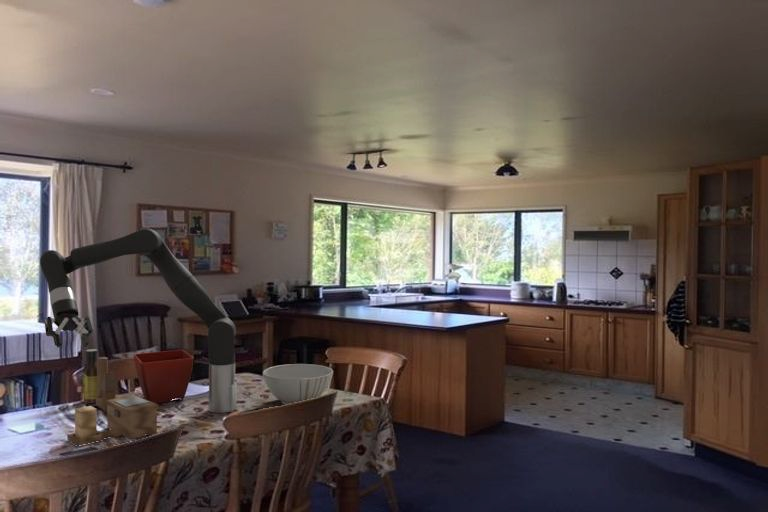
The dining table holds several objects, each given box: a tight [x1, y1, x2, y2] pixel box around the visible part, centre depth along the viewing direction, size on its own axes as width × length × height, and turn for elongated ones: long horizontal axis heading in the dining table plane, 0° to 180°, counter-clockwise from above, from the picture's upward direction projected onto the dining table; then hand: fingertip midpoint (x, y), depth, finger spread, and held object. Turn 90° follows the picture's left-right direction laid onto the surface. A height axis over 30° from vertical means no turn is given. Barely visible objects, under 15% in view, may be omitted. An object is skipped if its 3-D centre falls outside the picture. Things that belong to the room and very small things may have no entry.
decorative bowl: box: [262, 363, 334, 405], centre depth 236 cm, size 27×27×12 cm
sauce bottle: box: [82, 348, 98, 404], centre depth 233 cm, size 6×6×20 cm
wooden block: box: [95, 356, 116, 413], centre depth 225 cm, size 4×11×18 cm, turn 42°
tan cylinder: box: [74, 405, 98, 439], centre depth 189 cm, size 5×5×10 cm
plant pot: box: [133, 349, 194, 404], centre depth 239 cm, size 19×19×17 cm
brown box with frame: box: [66, 394, 159, 447], centre depth 195 cm, size 23×17×10 cm
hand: (73, 345), depth 200 cm, fingers open, 8 cm apart
